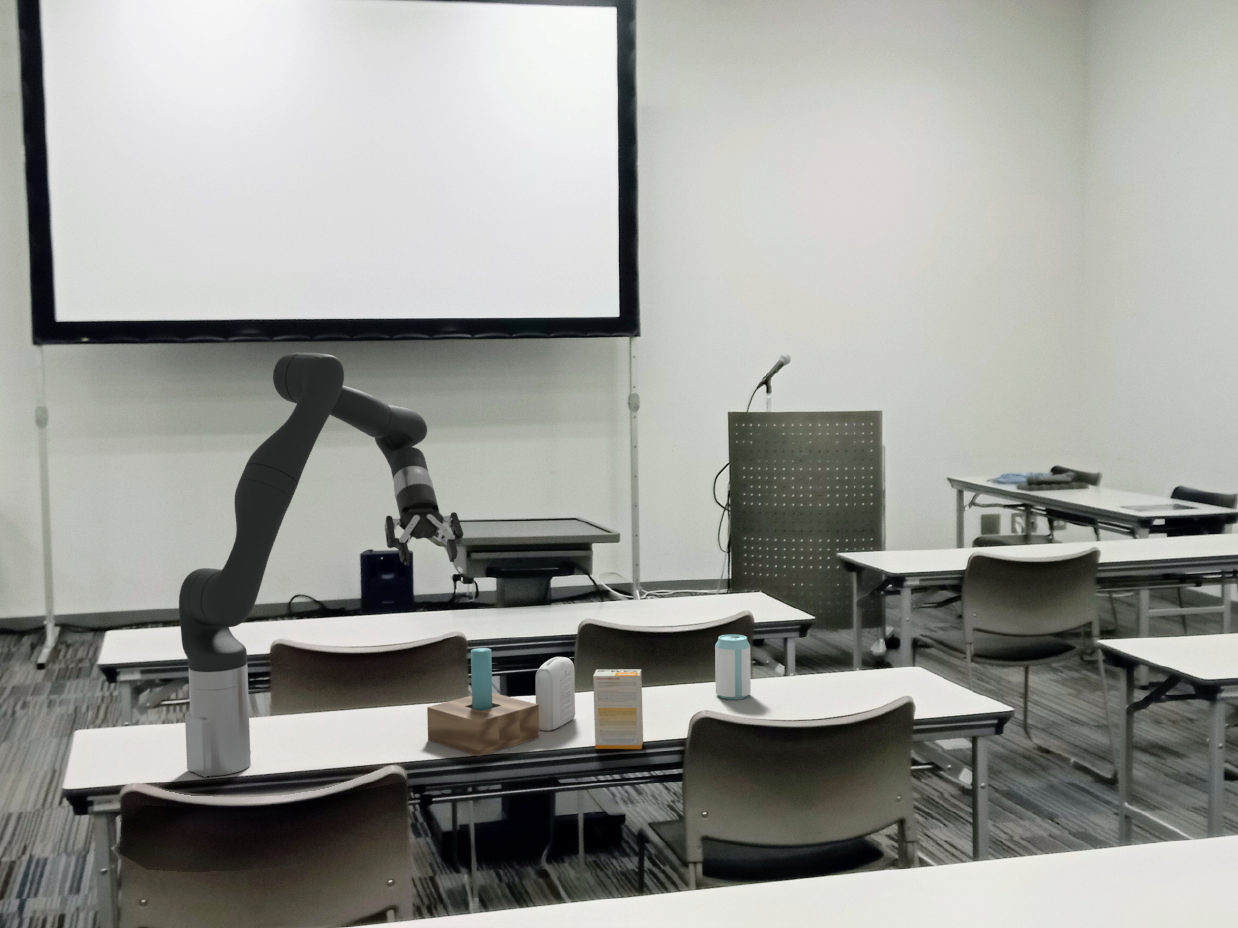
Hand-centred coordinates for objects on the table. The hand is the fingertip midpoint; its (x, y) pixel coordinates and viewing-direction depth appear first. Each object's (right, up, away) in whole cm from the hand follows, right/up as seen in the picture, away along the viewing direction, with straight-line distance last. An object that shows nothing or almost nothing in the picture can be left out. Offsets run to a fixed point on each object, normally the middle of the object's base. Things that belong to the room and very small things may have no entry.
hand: (430, 560), depth 215 cm
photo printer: (+23, -31, 0) cm, 38 cm away
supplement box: (+35, -31, -13) cm, 49 cm away
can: (+58, -29, +18) cm, 68 cm away
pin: (+11, -30, -9) cm, 33 cm away
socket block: (+11, -31, -9) cm, 34 cm away
